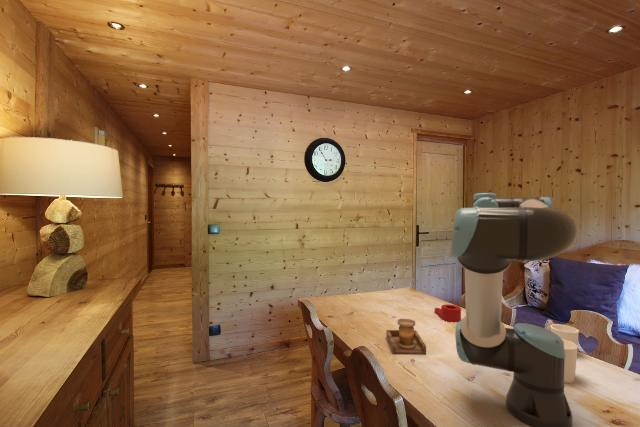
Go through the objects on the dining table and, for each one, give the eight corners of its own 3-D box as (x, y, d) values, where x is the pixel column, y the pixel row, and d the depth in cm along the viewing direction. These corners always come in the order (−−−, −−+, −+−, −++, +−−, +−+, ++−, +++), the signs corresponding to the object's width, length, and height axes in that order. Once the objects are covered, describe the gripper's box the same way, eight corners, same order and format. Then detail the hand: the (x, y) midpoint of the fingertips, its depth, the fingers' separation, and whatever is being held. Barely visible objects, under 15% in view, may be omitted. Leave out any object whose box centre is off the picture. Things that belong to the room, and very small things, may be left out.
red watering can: (464, 322, 162) (465, 309, 162) (448, 323, 160) (448, 310, 160) (443, 311, 180) (443, 299, 180) (428, 312, 178) (428, 300, 178)
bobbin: (417, 349, 128) (417, 324, 128) (399, 349, 128) (399, 324, 128) (412, 342, 135) (412, 318, 135) (396, 341, 135) (396, 318, 135)
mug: (566, 360, 121) (567, 333, 121) (544, 350, 129) (544, 325, 129) (588, 357, 124) (588, 330, 124) (565, 347, 132) (565, 322, 132)
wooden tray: (426, 354, 126) (426, 346, 126) (392, 354, 126) (392, 345, 126) (415, 338, 142) (415, 330, 142) (386, 337, 142) (386, 329, 142)
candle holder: (542, 367, 116) (543, 334, 115) (577, 376, 109) (577, 342, 109) (540, 378, 108) (540, 343, 108) (577, 389, 102) (577, 352, 102)
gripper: (514, 238, 103) (513, 303, 104) (479, 232, 128) (479, 285, 129) (490, 238, 104) (490, 303, 104) (460, 232, 129) (460, 285, 129)
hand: (484, 293), depth 116 cm, fingers open, 13 cm apart
